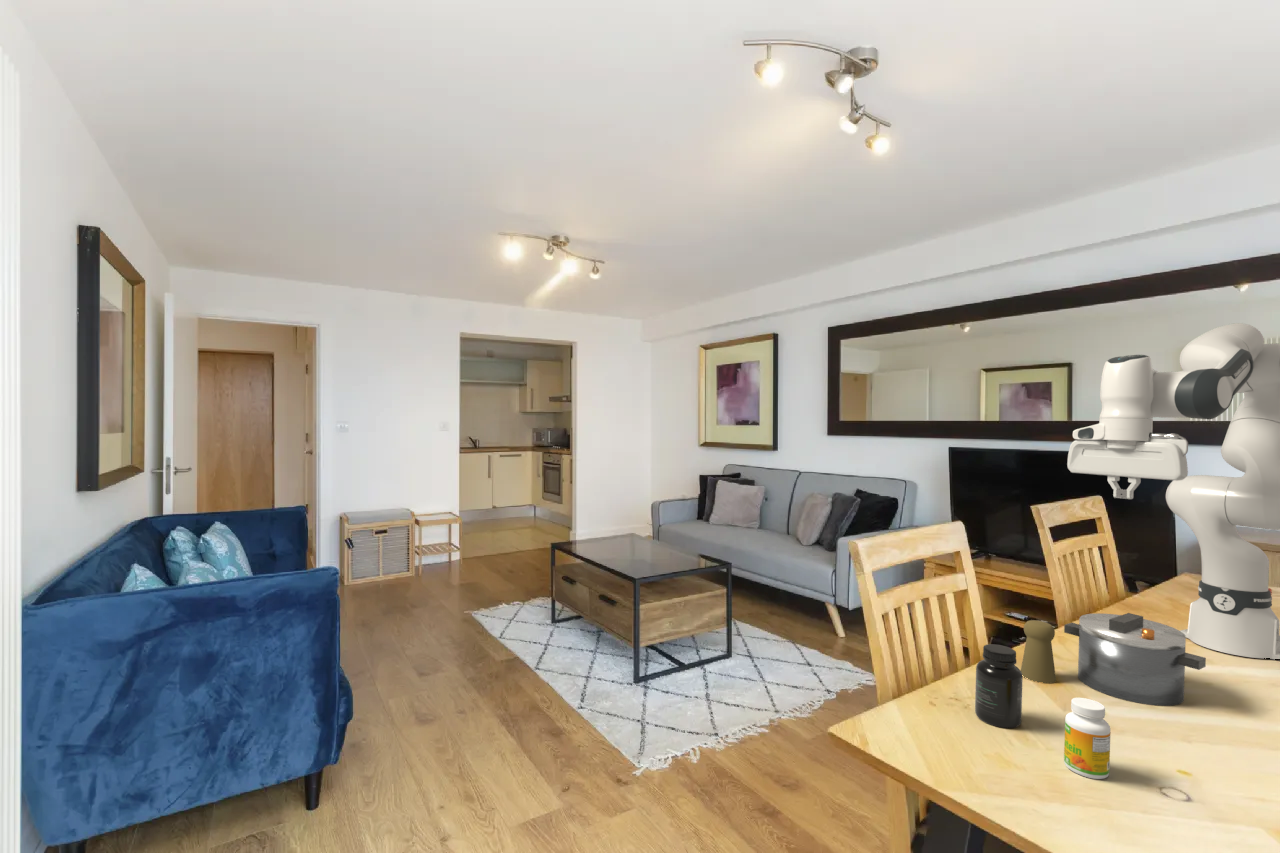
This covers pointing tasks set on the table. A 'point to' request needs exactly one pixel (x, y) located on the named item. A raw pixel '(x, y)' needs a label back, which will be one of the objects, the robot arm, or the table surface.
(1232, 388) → the robot arm
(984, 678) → the supplement bottle
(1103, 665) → the cooker pot
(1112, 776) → the table surface
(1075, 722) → the supplement bottle
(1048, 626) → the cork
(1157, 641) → the cooker lid
